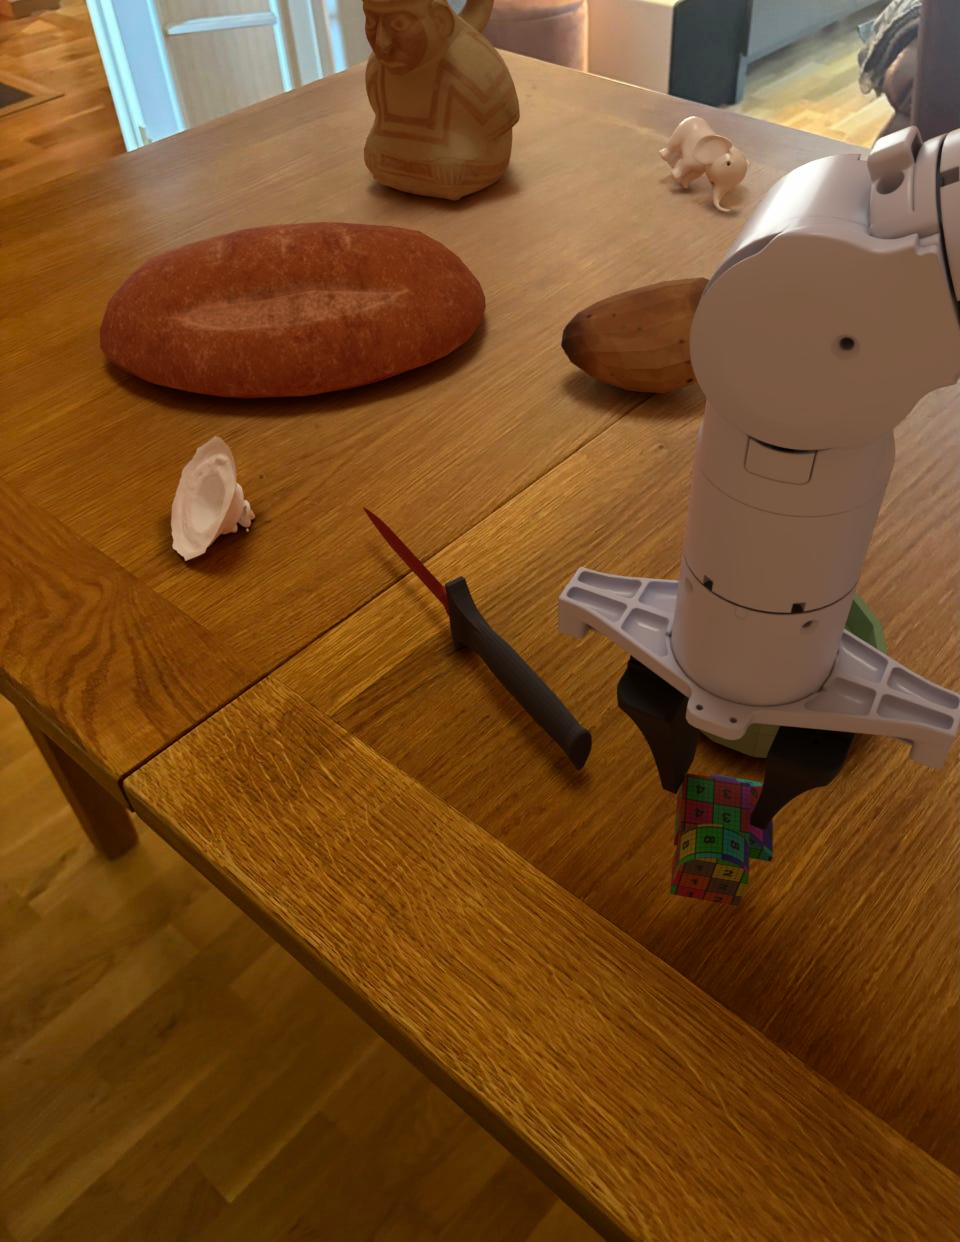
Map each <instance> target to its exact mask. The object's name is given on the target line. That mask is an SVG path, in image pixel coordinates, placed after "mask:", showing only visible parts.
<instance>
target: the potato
mask: <svg viewBox="0 0 960 1242" xmlns="http://www.w3.org/2000/svg"><path fill="white" fill-rule="evenodd" d="M709 280H710V279H708V278H706V277H692V278H681V279H671V280H664V281H660V282H656V283H651V284H648V285H645V286H641V287H637V288H633V289H630V290H626V291H623V292H620V293H618V294H615V295H612V296H610V297H606V298H603V299H601V300H598V301H595V302H594V303H592V304H591V305H589V306H587V307H585V308H584V309H582V310H581V311H579V312H577V313H576V314H575V315H574V316H573V317H572V318H571V320H570V321H569V322H568V323H567V324H566V325H565V327H564V329H563V330H562V336H561V342H560V343H561V344H560V347H561V348H562V350H563V352H564V353H565V355H566V357H567V358H568V360H569V361H570V363H571V364H573V365H574V366H576V368H578V369H580V370H581V371H582V372H584V373H586V374H587V375H588V376H590V377H592V378H594V379H595V380H596V381H598V382H600V383H603V384H606V385H608V386H609V385H610V386H612V387H615V388H619V389H622V390H624V391H628V392H638V393H639V392H641V393H654V394H665V393H669V392H672V391H676V390H679V389H683V388H686V387H690V386H694V385H695V384H696V383H698V382H697V379H696V377H695V374H694V371H693V367H692V363H691V357H690V332H691V326H692V322H693V318H694V315H695V312H696V310H697V307H698V305H699V302H700V299H701V296H702V294H703V292H704V290H705V288H706V286H707V284H708V282H709Z"/></svg>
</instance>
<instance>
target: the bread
mask: <svg viewBox="0 0 960 1242" xmlns="http://www.w3.org/2000/svg"><path fill="white" fill-rule="evenodd" d="M486 304H487V303H486V295H485V293H484V291H483V288H482V285H481V283H480V280H478V279H477V277H476V276H475V275H474V274H473V272H472V271H471V270H470V269H469V267H467V265H466V264H465V262H464V261H463V260H462V259H461V258H460V257H459V256H458V255H457V254H455V253H454V252H453V251H452V250H451V249H449V248H448V247H447V246H446V245H444V244H443V243H442V242H440V241H438V240H436V239H434V238H433V237H430V235H427V234H425V233H423V232H421V231H420V230H415V229H409V228H405V227H398V226H393V225H377V224H367V223H366V224H365V223H354V222H353V223H352V222H340V221H339V222H334V221H333V222H332V221H320V222H319V221H318V222H300V223H285V224H270V225H263V226H262V225H261V226H256V227H250V228H245V229H237V230H234V231H232V232H227V233H223V234H219V235H214V236H211V237H208V238H205V239H201V240H198V241H193V242H191V243H188V244H184V245H181V246H179V247H176V248H173V249H171V250H168V251H165V252H162V253H159V254H157V255H154V256H152V257H149V258H148V259H147V260H146V261H145V262H143V263H142V264H141V265H140V266H139V267H138V268H136V269H135V270H134V271H132V273H130V275H128V276H127V277H126V279H124V281H123V282H122V283H121V285H120V286H119V287H118V288H117V289H116V291H115V292H114V293H113V295H111V297H110V298H109V299H108V302H107V305H106V309H105V312H104V314H103V318H102V321H101V323H100V324H101V325H100V327H99V348H100V350H101V352H102V353H103V355H104V356H105V358H107V359H108V360H109V361H110V362H111V363H113V364H114V365H115V366H116V367H118V368H119V369H120V370H121V371H123V372H125V373H128V374H129V375H132V376H134V377H137V378H139V379H142V380H143V381H146V382H149V383H151V384H154V385H159V386H162V387H166V388H171V389H176V390H180V391H184V392H189V393H194V394H201V395H207V396H208V395H209V396H215V397H223V398H234V399H267V398H287V397H290V398H291V397H307V396H313V395H314V396H315V395H319V394H326V393H331V392H336V391H342V390H350V389H354V388H357V387H362V386H366V385H371V384H375V383H377V382H380V381H384V380H386V379H388V378H391V377H394V376H397V375H400V374H404V373H406V372H409V371H411V370H415V369H417V368H419V367H423V366H425V365H428V364H430V363H433V362H435V361H436V360H439V359H442V358H445V357H447V356H448V355H450V354H451V353H452V352H453V351H455V350H456V349H458V348H459V347H461V346H462V345H463V344H464V343H466V342H467V341H469V340H470V338H471V337H472V336H473V335H474V333H475V332H476V330H477V329H478V328H479V326H480V325H481V324H482V322H483V321H484V316H485V311H486V307H487V305H486Z"/></svg>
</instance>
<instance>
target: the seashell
mask: <svg viewBox="0 0 960 1242" xmlns="http://www.w3.org/2000/svg"><path fill="white" fill-rule="evenodd" d="M174 495H175V496H174V498H173V500H172V501H173V502H172V505H171V518H170V526H171V536H172V540H173V541H172V544H171V545H172V546H171V547H172V549H173V550H174V551H176V552H177V554H179V555H180V556H181V557H183V558H184V561H185V562H186V561H189V560H192V559H194V558H197V557H199V556H202V555H203V554H205V553H206V551H207V548H208V547H210V546H211V545H212V544H213V543H214V542H215V541H216V539H217V538H218V537H220V535H227V534H230V533H234V534H235V533H237V532H238V525H237V524H239V525H240V526H242V527H244V528H246V529H245V531H246V533H249V532H250V530H249V527H251V524H252V522H251V521H252V520H254V519H255V518H256V515H255V513H254V511H253V510H252V509H251V503H250V502H249V501H248V500H246V499H245V495H244V490H243V487H242V485H241V484H239V483H238V482H237V468H236V462H235V459H234V456H233V453H232V450H231V447H230V446H229V445H228V444H227V443H226V442H225V440H223V439H222V438H221V436H217V435H215V436H213V437H212V438H211V439H210V440H209V441H208V440H207V442H205V443H204V444H202V445H201V446H199V447H197V448H196V450H195V453H194V456H193V457H192V458H191V460H189V461H188V463H187V464H185V466H183V468H182V470H181V477H180V478H179V484H178V485H177V488H176V491H175V494H174Z"/></svg>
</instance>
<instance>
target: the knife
mask: <svg viewBox="0 0 960 1242" xmlns="http://www.w3.org/2000/svg"><path fill="white" fill-rule="evenodd" d="M362 509H363V511H364V512H365V514H366V515H367V517H368V519H369V520H370V521H371V523H372V524H373V525H374V527H375V528H376V530H377V531H378V532H379V534H380V535H381V536H382V538H383V539H384V540H385V542H387V544H388V545H389V546H390V548H391V549H392V550H393V551H394V552H395V554H396V555H398V557H399V558H400V559H401V560H402V562H404V563H405V564H406V566H407V567H408V568H409V569H410V570H411V571H412V572H413V573H414V574H415V576H416V577H417V578H418V579H419V580H420V581H421V583H422V584H423V585H425V587H426V588H427V589H428V590H429V591H430V592H431V593H432V594H433V595H434V596H435V598H436V599H437V600H438V601H439V602H440V603H441V604H442V606H443V607H444V610H445V612H446V615H447V616H448V617H449V628H450V629H449V630H450V633H451V638H452V643H453V648H454V649H456V650H460V649H462V648H463V647H465V646H467V647H468V648H469V649H470V650H471V651H473V652H474V653H475V654H476V655H477V656H478V657H479V658H480V659H481V660H482V662H483V663H484V664H485V666H486V667H487V668H488V669H489V671H490V672H491V674H492V675H493V676H494V677H495V678H496V679H497V681H498V682H499V683H500V684H501V685H502V687H504V688H505V690H507V692H508V693H509V694H510V695H511V696H512V697H513V698H514V700H515V701H516V702H517V703H518V704H519V705H520V707H522V709H523V710H524V711H525V712H526V713H527V714H528V715H529V716H530V717H531V719H532V720H533V721H534V722H535V723H536V724H537V725H538V727H540V728H541V729H542V730H543V732H545V733H546V734H547V735H548V736H549V737H550V738H551V739H552V740H553V741H554V742H555V743H556V744H557V745H558V746H559V747H560V749H562V751H563V752H564V754H565V755H566V757H567V758H568V760H569V761H570V762H571V764H572V765H573V767H574V768H575V769H576V771H579V772H580V771H581V770H582V769H583V768H585V765H586V763H587V761H588V758H589V756H590V753H591V751H592V746H593V739H592V738H593V737H592V733H591V731H590V730H588V729H587V728H586V727H583V726H582V725H581V724H580V723H579V722H578V720H577V719H576V717H575V716H574V715H573V714H572V713H571V711H569V709H568V708H567V706H566V705H565V704H564V703H563V702H562V700H561V699H560V698H559V696H557V694H556V693H555V692H554V691H553V690H552V689H551V688H550V687H549V686H548V685H547V684H546V682H544V680H543V679H542V678H541V677H540V676H539V675H538V674H537V673H536V671H535V670H534V669H532V667H531V666H530V664H528V663H527V662H526V661H525V660H524V659H523V657H522V656H521V655H520V654H519V653H518V652H517V651H516V650H515V649H514V648H513V646H511V645H510V644H509V643H508V642H507V641H506V640H505V639H503V637H501V636H500V634H498V633H497V632H496V631H495V630H494V629H493V628H492V627H491V625H490V624H489V622H488V621H487V620H486V618H485V617H484V616H483V615H482V613H481V611H480V610H479V609H478V607H477V605H476V603H475V601H474V598H473V596H472V593H471V591H470V589H469V587H468V582H467V579H466V578H465V577H464V576H462V575H460V576H458V577H456V578H454V579H452V580H450V581H448V582H446V583H444V585H443V584H442V583H441V582H440V581H439V580H438V579H437V578H436V577H435V575H434V574H433V573H432V572H431V570H429V569H428V568H427V567H426V565H424V564H423V563H422V561H421V560H420V559H419V558H418V557H417V556H416V555H415V554H414V552H412V550H410V548H409V547H408V546H407V545H406V544H405V543H404V542H403V541H402V539H400V538H399V537H398V535H397V534H396V533H395V532H394V531H393V530H392V528H390V527H389V525H387V524H386V523H385V522H384V521H383V520H382V519H381V518H380V517H378V516H377V515H376V514H375V513H374V512H373V511H371V510H369V509H368V508H366V507H364V506H362Z"/></svg>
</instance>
